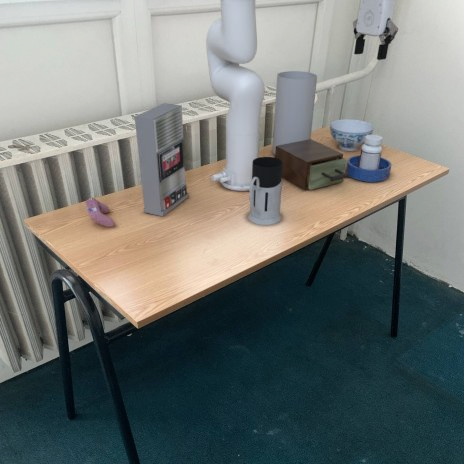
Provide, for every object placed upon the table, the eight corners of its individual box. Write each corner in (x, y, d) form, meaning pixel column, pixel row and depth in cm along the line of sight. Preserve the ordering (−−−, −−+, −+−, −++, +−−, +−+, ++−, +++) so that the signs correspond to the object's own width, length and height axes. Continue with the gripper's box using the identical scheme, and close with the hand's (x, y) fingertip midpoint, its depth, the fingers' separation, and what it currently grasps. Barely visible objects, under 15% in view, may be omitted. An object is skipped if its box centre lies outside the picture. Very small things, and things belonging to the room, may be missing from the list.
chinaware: (353, 158, 164) (356, 135, 160) (318, 147, 173) (321, 125, 169) (378, 148, 173) (382, 126, 168) (344, 138, 181) (347, 116, 177)
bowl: (366, 186, 146) (368, 173, 143) (336, 171, 155) (338, 159, 152) (397, 177, 151) (400, 165, 149) (367, 164, 160) (369, 152, 158)
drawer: (355, 187, 143) (359, 165, 138) (322, 196, 137) (325, 173, 133) (313, 166, 156) (315, 145, 152) (281, 173, 151) (283, 151, 147)
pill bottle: (363, 168, 156) (370, 132, 149) (380, 173, 153) (388, 136, 146) (353, 173, 153) (359, 137, 146) (370, 178, 149) (377, 141, 142)
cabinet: (339, 181, 148) (343, 153, 143) (304, 190, 143) (307, 161, 138) (307, 165, 159) (310, 138, 154) (273, 173, 153) (275, 145, 148)
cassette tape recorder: (163, 217, 128) (155, 120, 113) (144, 213, 130) (133, 116, 115) (189, 197, 138) (184, 105, 123) (170, 193, 140) (164, 102, 125)
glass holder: (286, 214, 130) (290, 159, 121) (265, 237, 120) (268, 179, 111) (256, 207, 133) (258, 153, 124) (233, 229, 123) (234, 172, 114)
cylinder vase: (300, 146, 173) (308, 70, 158) (314, 158, 164) (323, 78, 149) (267, 149, 171) (271, 72, 155) (279, 162, 161) (285, 80, 146)
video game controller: (96, 218, 130) (79, 198, 126) (110, 209, 130) (94, 188, 126) (101, 235, 123) (84, 214, 118) (116, 225, 123) (100, 204, 118)
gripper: (349, -13, 140) (341, 53, 151) (394, -9, 129) (381, 62, 139) (368, -14, 143) (359, 51, 154) (413, -10, 132) (400, 60, 142)
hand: (369, 56), depth 146 cm, fingers open, 9 cm apart
